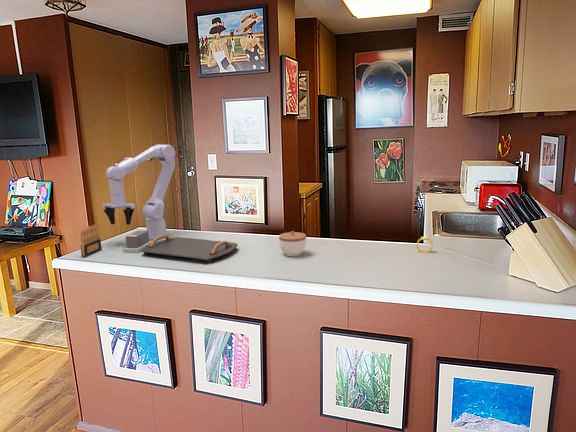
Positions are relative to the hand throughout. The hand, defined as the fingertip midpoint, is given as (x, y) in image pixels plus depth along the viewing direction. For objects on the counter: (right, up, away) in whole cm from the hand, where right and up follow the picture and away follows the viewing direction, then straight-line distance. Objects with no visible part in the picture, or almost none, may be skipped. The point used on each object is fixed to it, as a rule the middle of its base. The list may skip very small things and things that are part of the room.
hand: (120, 224), depth 202 cm
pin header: (+10, -10, -5) cm, 15 cm away
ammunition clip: (-8, -12, -10) cm, 18 cm away
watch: (+128, -11, -23) cm, 130 cm away
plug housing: (+10, -9, -5) cm, 14 cm away
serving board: (+34, -12, -13) cm, 38 cm away
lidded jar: (+76, -12, -21) cm, 80 cm away
